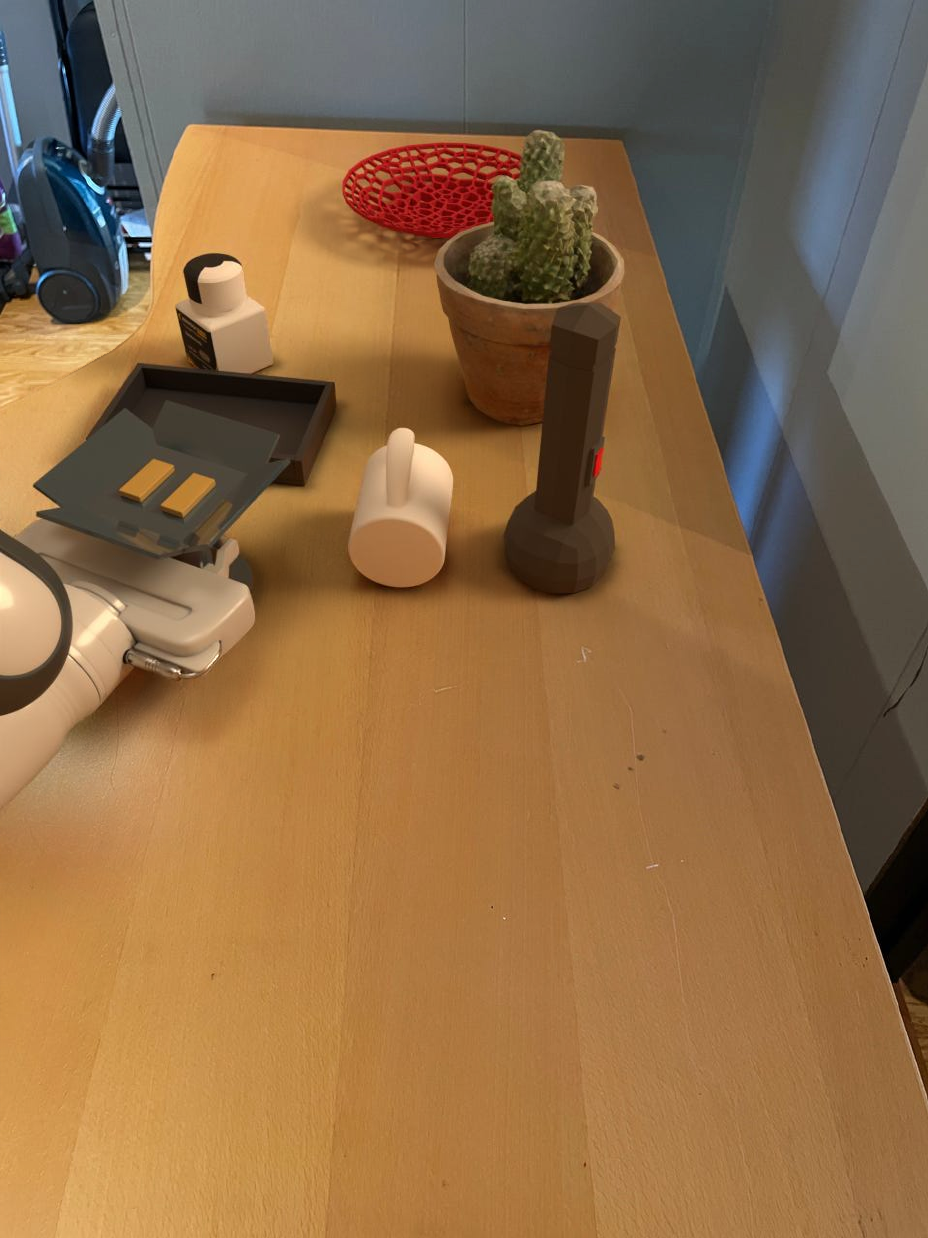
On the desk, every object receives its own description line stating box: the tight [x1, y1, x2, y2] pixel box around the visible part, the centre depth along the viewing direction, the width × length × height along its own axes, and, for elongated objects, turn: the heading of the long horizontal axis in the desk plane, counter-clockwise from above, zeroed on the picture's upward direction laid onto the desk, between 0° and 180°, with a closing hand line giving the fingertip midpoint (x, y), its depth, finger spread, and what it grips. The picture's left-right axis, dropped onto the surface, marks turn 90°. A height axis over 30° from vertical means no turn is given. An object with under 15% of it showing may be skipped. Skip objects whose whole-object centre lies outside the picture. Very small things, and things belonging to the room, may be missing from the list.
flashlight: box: [503, 303, 622, 595], centre depth 76 cm, size 10×25×10 cm
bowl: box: [341, 141, 522, 239], centre depth 129 cm, size 29×30×5 cm
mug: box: [347, 427, 454, 588], centre depth 81 cm, size 8×10×12 cm
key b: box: [160, 473, 216, 518], centre depth 73 cm, size 4×2×1 cm, turn 156°
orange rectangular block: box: [119, 459, 175, 502], centre depth 74 cm, size 4×2×1 cm, turn 156°
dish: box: [32, 400, 290, 595], centre depth 77 cm, size 16×16×13 cm
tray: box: [85, 362, 338, 487], centre depth 96 cm, size 22×14×3 cm, turn 82°
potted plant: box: [433, 129, 626, 427], centre depth 93 cm, size 18×19×25 cm
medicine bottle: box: [174, 252, 274, 374], centre depth 101 cm, size 7×7×12 cm
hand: (186, 527), depth 78 cm, fingers open, 7 cm apart
